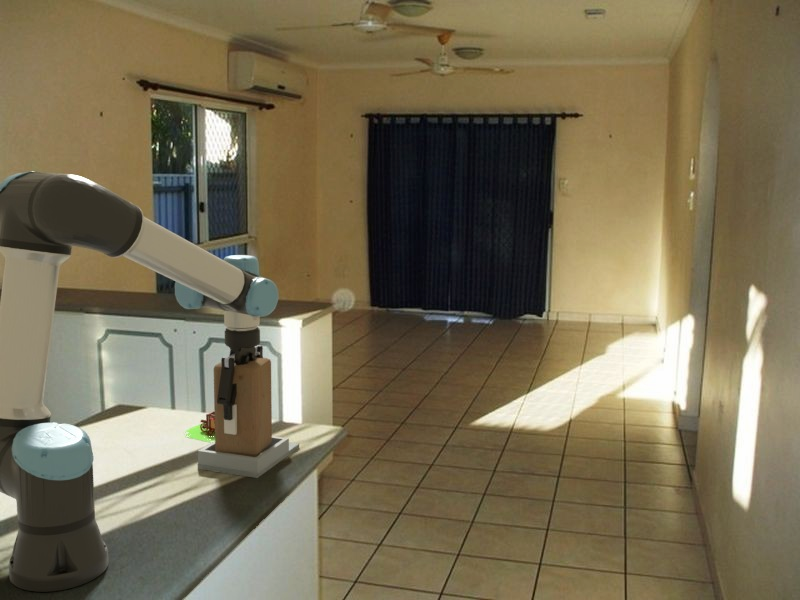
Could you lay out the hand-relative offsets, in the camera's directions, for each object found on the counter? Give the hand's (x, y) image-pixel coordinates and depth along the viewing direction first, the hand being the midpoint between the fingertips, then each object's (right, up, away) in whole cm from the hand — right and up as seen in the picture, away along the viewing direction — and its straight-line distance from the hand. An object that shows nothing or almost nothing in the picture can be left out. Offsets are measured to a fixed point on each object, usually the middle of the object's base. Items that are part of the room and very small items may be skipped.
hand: (243, 425), depth 189 cm
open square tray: (+1, -8, +4) cm, 9 cm away
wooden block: (0, -6, +1) cm, 6 cm away
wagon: (-10, -5, +22) cm, 25 cm away
